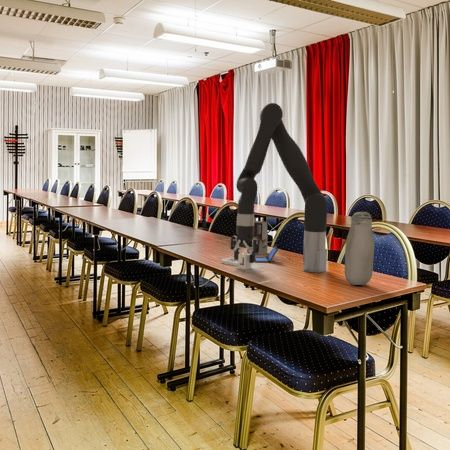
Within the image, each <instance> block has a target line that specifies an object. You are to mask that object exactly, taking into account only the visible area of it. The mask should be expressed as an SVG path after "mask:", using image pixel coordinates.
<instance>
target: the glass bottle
mask: <svg viewBox="0 0 450 450" xmlns="http://www.w3.org/2000/svg"><path fill="white" fill-rule="evenodd" d="M350 222H351V223H350V226H349V231H348V234H347V236H346V239H345V248H344V249H345V250H344V251H345V252H344V277H345V279H346V281H347V282H348V284H351V285H352V286H355V285H362V286H365V285H366V284H368V283H369V282H370V281H371V279H372V278H373V269H374V259H375V258H374V257H375V241H374V240H375V239H374V234H373V233H374V232H373V227H372V226H373V218H372V215H371V214H370V213H369V212H367V211H357V212H355V213H353V215H352V216H351V219H350Z"/></svg>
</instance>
